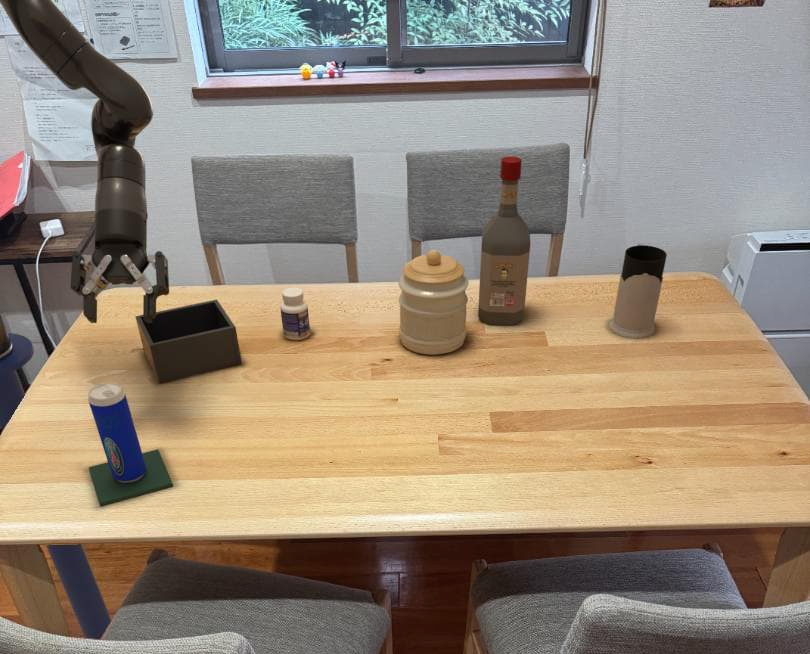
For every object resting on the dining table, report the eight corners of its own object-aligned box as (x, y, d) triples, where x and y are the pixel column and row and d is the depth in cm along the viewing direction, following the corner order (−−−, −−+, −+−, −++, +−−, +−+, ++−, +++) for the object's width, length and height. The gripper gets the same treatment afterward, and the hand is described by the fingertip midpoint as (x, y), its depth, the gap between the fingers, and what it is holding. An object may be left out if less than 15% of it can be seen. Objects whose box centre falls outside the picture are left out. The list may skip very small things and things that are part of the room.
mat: (100, 506, 121) (99, 503, 120) (89, 470, 128) (88, 467, 127) (173, 486, 124) (172, 483, 124) (158, 451, 131) (158, 448, 131)
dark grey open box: (158, 383, 147) (149, 345, 142) (144, 352, 155) (135, 316, 150) (241, 364, 152) (235, 326, 146) (223, 335, 160) (216, 299, 155)
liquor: (523, 326, 161) (537, 168, 141) (477, 325, 162) (485, 167, 142) (522, 305, 168) (536, 152, 148) (478, 304, 169) (486, 151, 148)
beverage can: (106, 475, 126) (79, 391, 116) (135, 460, 128) (110, 377, 118) (124, 488, 123) (98, 404, 113) (153, 473, 126) (130, 389, 116)
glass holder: (610, 336, 157) (623, 261, 147) (606, 304, 168) (618, 232, 158) (656, 339, 156) (672, 263, 146) (649, 306, 167) (664, 233, 157)
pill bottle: (305, 342, 158) (300, 299, 152) (279, 339, 158) (274, 296, 153) (314, 329, 161) (309, 287, 155) (289, 327, 162) (284, 284, 156)
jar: (475, 330, 160) (479, 242, 148) (452, 361, 151) (455, 270, 139) (414, 319, 164) (413, 232, 152) (389, 349, 155) (386, 259, 143)
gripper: (64, 206, 120) (62, 313, 119) (160, 205, 120) (159, 313, 119) (84, 228, 128) (83, 329, 127) (174, 227, 128) (173, 329, 127)
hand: (119, 321), depth 123 cm, fingers open, 8 cm apart
